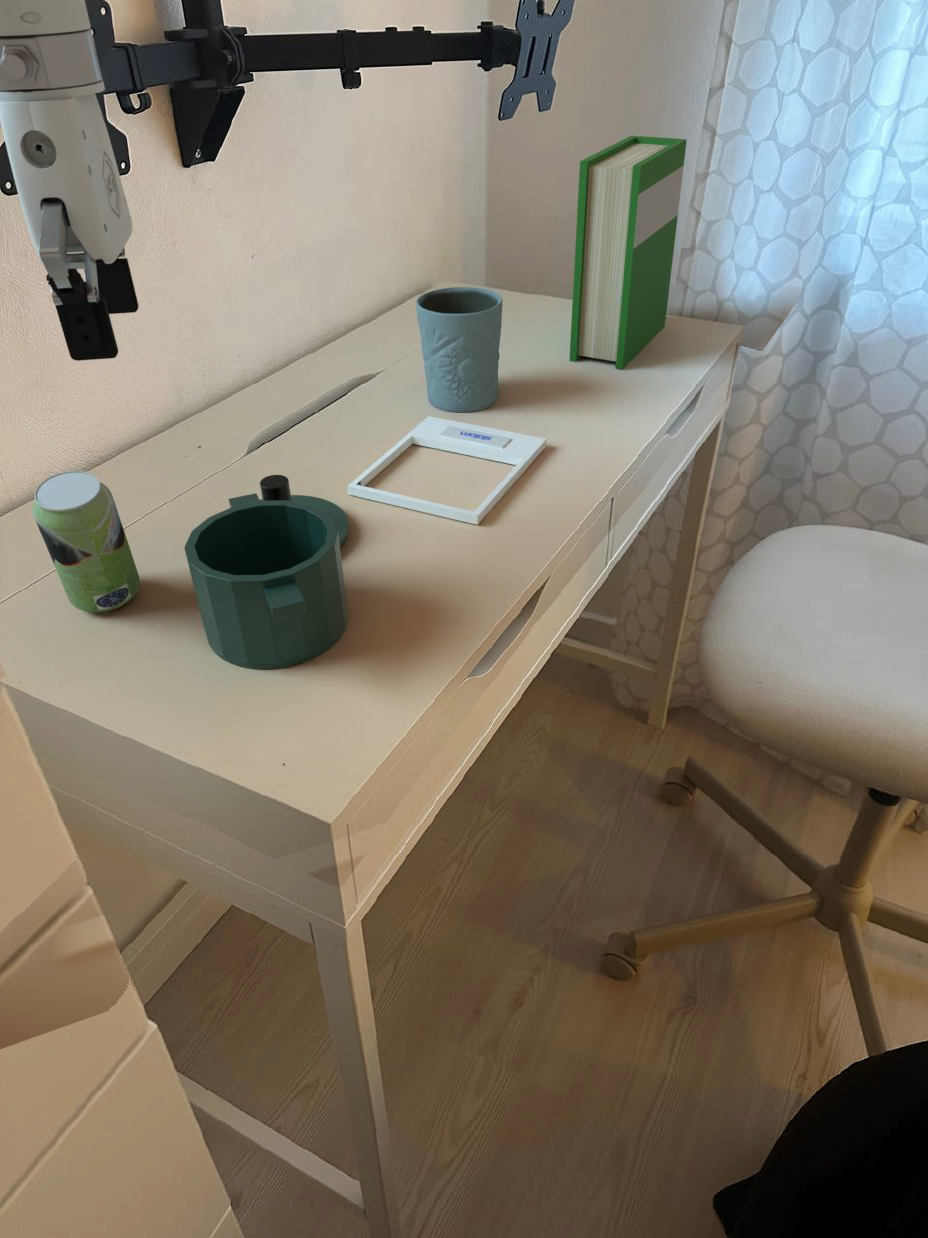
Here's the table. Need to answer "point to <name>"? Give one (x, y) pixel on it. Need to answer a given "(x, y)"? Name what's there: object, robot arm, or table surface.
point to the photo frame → (456, 440)
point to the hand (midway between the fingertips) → (107, 333)
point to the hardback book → (625, 246)
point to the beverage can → (86, 541)
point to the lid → (303, 501)
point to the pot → (268, 582)
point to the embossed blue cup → (460, 346)
